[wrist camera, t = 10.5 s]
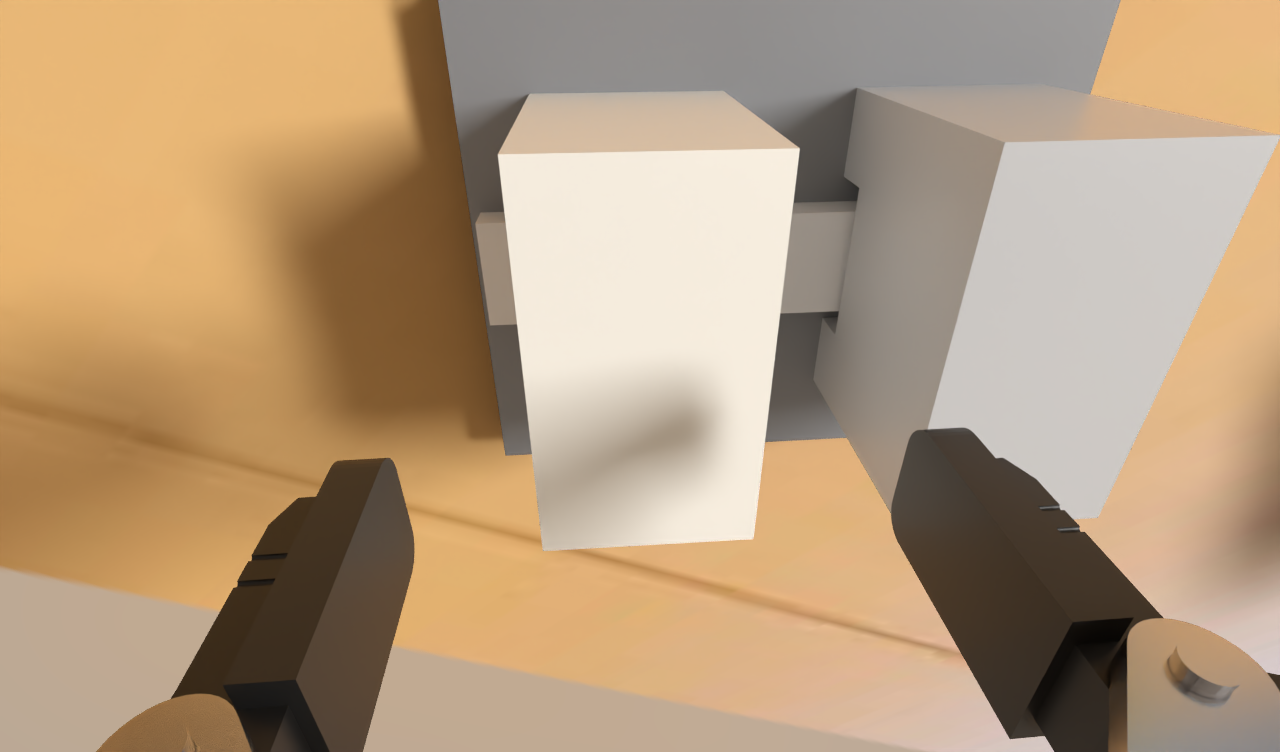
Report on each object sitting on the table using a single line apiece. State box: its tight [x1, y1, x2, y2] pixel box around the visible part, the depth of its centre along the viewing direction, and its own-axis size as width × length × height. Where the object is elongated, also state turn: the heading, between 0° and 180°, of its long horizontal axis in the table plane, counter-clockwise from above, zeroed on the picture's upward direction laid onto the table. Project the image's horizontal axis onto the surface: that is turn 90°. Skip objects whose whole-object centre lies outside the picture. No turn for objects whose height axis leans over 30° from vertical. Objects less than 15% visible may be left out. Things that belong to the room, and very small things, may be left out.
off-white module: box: [498, 91, 800, 551], centre depth 16 cm, size 5×9×7 cm, turn 0°
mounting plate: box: [438, 0, 1120, 455], centre depth 18 cm, size 17×14×6 cm
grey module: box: [813, 84, 1280, 519], centre depth 16 cm, size 5×9×7 cm, turn 1°
